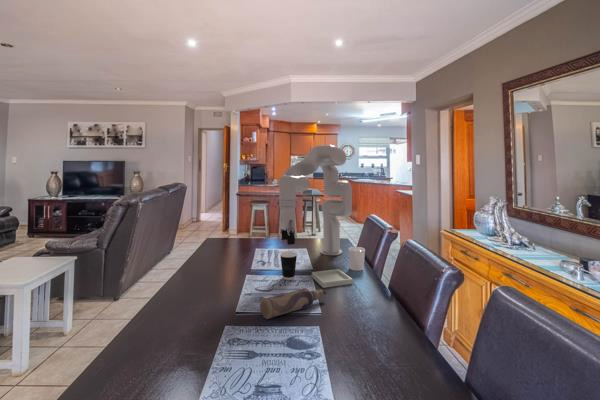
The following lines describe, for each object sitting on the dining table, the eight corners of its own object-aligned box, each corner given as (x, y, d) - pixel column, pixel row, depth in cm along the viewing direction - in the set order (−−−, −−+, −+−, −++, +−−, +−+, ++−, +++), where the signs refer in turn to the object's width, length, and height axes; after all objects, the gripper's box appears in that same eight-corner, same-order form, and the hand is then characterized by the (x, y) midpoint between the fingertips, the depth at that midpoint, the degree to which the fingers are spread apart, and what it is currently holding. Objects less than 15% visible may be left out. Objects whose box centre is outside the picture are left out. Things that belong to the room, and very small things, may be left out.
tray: (311, 276, 134) (311, 272, 134) (338, 273, 138) (338, 269, 138) (323, 287, 121) (323, 282, 121) (352, 283, 126) (352, 278, 125)
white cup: (363, 266, 148) (363, 246, 147) (365, 271, 141) (365, 251, 140) (347, 265, 149) (348, 246, 148) (349, 271, 141) (349, 250, 140)
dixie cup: (283, 282, 128) (283, 257, 127) (277, 276, 135) (277, 252, 134) (300, 279, 131) (300, 255, 130) (293, 273, 138) (293, 250, 137)
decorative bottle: (269, 324, 93) (268, 303, 92) (259, 314, 99) (258, 295, 99) (333, 303, 107) (333, 286, 106) (320, 296, 113) (320, 279, 113)
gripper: (275, 202, 137) (275, 238, 138) (284, 205, 120) (284, 247, 122) (290, 201, 139) (290, 237, 141) (302, 205, 123) (302, 245, 124)
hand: (288, 241), depth 131 cm, fingers open, 9 cm apart
